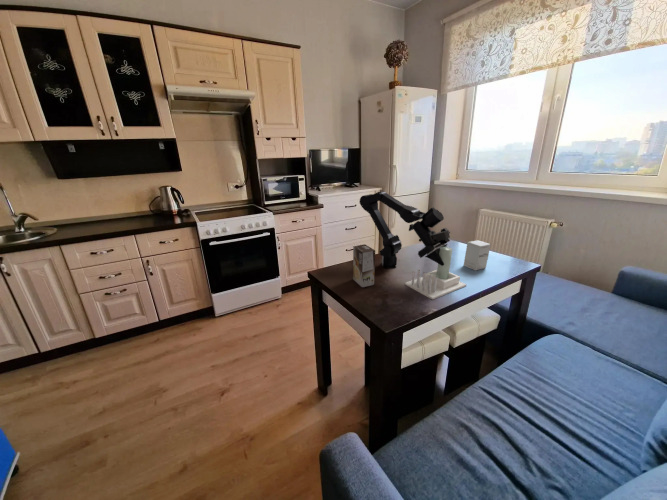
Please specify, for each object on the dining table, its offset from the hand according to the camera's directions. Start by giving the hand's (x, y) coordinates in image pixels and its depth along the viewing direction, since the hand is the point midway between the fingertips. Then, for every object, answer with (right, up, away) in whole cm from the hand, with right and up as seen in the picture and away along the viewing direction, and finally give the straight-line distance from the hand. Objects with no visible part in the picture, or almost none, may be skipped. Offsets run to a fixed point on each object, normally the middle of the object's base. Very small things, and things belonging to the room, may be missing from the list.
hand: (446, 263), depth 115 cm
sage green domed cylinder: (-1, -6, +3) cm, 7 cm away
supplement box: (+22, -3, +19) cm, 30 cm away
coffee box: (-34, -9, +6) cm, 36 cm away
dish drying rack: (-4, -9, +2) cm, 10 cm away
